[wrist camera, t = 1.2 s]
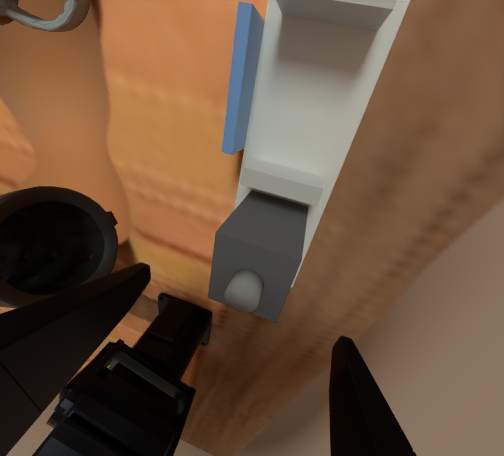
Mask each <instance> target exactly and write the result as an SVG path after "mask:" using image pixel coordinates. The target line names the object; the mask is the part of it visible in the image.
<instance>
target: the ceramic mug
mask: <svg viewBox="0 0 504 456" xmlns="http://www.w3.org/2000/svg"><path fill="white" fill-rule="evenodd" d="M89 5H90V0H68V1H67V2H66V3H65V4H64V12H63V14H60V15H58V16H57V18H56V20H53V21H49V20H43V19H41V18H39V17H36V16H34V15H31V14H29V13H27V12H26V11H24V10H22V9H20V8H19V7H18V0H0V25H4V24H8V23H10V22H12V21H13V20H16V21H17V22H19V23H21V24H23V25H27V26H29V27H32V28H35V29H40V30H44V31H51V32H63V31H69V30H73V29H74V28H76V27H77V26H79V25H80V23H82V22H83V20H84V19H85V18H86V15H87V13H88V10H89Z"/></svg>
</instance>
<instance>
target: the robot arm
mask: <svg viewBox="0 0 504 456" xmlns="http://www.w3.org/2000/svg"><path fill="white" fill-rule="evenodd" d="M150 279H151V273H150V266H149V265H148V264H145V263H138V264H135V265H132V266H130V267H127V268H124V269H122V270H119V271H116V272H114V273H111V274H108V275H106V276H103V277H100V278H98V279H95V280H92V281H90V282H87V283H84V284H82V285H79V286H76V287H74V288H71V289H68V290H66V291H63V292H60V293H58V294H55V295H52V296H50V297H48V298H44V299H41V300H39V301H36V302H33V303H31V304H28V305H25V306H22V307H19V308H17V309H14V310H11V311H8V312H5V313H1V314H0V456H6V455H7V454H8V452H9V451H10V450H11V449H12V448H13V447H14V445H15V444H16V443H17V442H18V441H19V440H20V438H21V437H22V436H23V435H24V434H25V433H26V431H27V430H28V429H29V428H30V426H31V425H32V424H33V423H34V422H35V421H36V419H37V418H38V417H39V416H40V415H41V414H42V412H43V411H44V410H45V409H46V408H47V407H48V405H49V404H50V403H51V402H52V401H53V399H54V398H55V397H56V396H57V395H58V394H59V392H60V391H61V392H60V396H59V404H58V405H57V406H56V408H55V409H54V411H55V412H54V413H53V414H52V416H51V417H50V418H49V420H48V421H47V423H46V424H48V425H50V426H51V427H53V428H54V429H53V430H52V432H51V433H50V434H49V435H48V437H47V438H46V439H45V440H44V442H43V443H42V444H41V445H40V447H39V448H38V449H37V450H36V452H35V453H34V454H33V455H32V456H173V454H174V452H175V449H176V447H177V445H178V442H179V439H180V436H181V433H182V430H183V427H184V424H185V421H186V418H187V415H188V412H189V409H190V406H191V403H192V401H193V398H194V395H195V392H196V389H194V388H193V387H189V386H188V385H186V384H185V383H183V382H182V381H180V380H181V378H182V376H183V374H184V372H185V371H186V369H187V367H188V365H189V363H190V361H191V359H192V357H193V355H194V353H195V351H196V349H197V347H198V345H202V346H207V344H208V341H209V334H210V326H211V319H212V313H211V312H210V311H209V310H207V309H204V308H201V307H199V306H196V305H194V304H191V303H188V302H186V301H183V300H180V299H178V298H175V297H173V296H170V295H167V294H165V293H160V294H159V296H158V308H159V314H158V316H157V317H156V318H155V319H154V321H153V322H152V323H151V324H150V326H149V327H148V328H147V329H146V331H145V332H144V333H143V335H142V336H141V337H140V338H139V340H138V341H137V342H136V343H135V345H134V346H133V347H132V348H131V347H129V346H128V345H126V344H125V343H124V341H122V340H121V339H119V340H118V341H117V342H116V343H113V342H109V343H108V344H107V345H106V346H105V347H104V348H103V349H102V350H101V352H100V353H99V354H98V355H97V356H96V357H95V358H94V359H93V360H92V361H91V362H90V363H89V364H88V365H87V366H86V367H85V368H84V369H83V370H82V371H81V372H79V373H78V374H77V375H76V376H75V377H74V378H73V379H72V380H71V378H72V377H73V376H74V375H75V374H76V372H77V371H78V370H79V369H80V368H81V367H82V365H83V364H84V363H85V362H86V361H87V360H88V358H89V357H90V356H91V355H92V354H93V353H94V351H95V350H96V349H97V348H98V347H99V346H100V344H101V343H102V342H103V341H104V340H105V338H106V337H107V336H108V335H109V334H110V333H111V331H112V330H113V329H114V328H115V327H116V326H117V324H118V323H119V322H120V321H121V320H122V319H123V317H124V316H125V315H126V314H127V313H128V311H129V310H130V309H131V307H132V306H133V305H134V303H135V302H136V300H137V299H138V298H139V296H140V295H141V293H142V292H143V290H144V289H145V287H146V286H147V285H148V283H149V282H150ZM108 365H110V366H112V367H113V369H112V370H109V369H108V368H107V367H108ZM70 380H71V381H70ZM69 381H70V382H69ZM68 382H69V383H68ZM67 383H68V384H67ZM66 384H67V385H66ZM65 385H66V386H65ZM329 409H330V445H331V456H416V454H415V452H413V449H412V447H411V445H410V443H409V441H408V440H407V438H406V436H405V434H404V432H403V430H402V429H401V427H400V425H399V423H398V421H397V420H396V418H395V416H394V414H393V413H392V411H391V409H390V407H389V405H388V403H387V401H386V400H385V398H384V396H383V394H382V392H381V391H380V389H379V387H378V385H377V384H376V382H375V380H374V378H373V376H372V375H371V373H370V371H369V369H368V367H367V365H366V363H365V362H364V360H363V358H362V356H361V354H360V353H359V351H358V349H357V347H356V346H355V344H354V342H353V340H352V339H350V338H348V337H345V336H340V337H339V339H338V340H337V342H336V343H335V345H334V346H333V349H332V359H331V372H330V385H329Z"/></svg>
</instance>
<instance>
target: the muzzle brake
mask: <svg viewBox="0 0 504 456" xmlns="http://www.w3.org/2000/svg"><path fill="white" fill-rule="evenodd" d="M117 223H118V222H117V221H116V219H115V217H114V215H113V213H112V212H111V211H110V212H106V211H105V210H104V209H103V208H102V207H101V206H100V205H99V204H98V203H96V202H95V201H93V200H92V199H91V198H89V197H87V196H85V195H83V194H81V193H79V192H76V191H73V190H70V189H67V188H60V187H53V186H52V187H51V186H47V187H46V186H45V187H44V186H38V187H33V188H28V189H23V190H19V191H14V192H10V193H7V194H2V195H0V307H9V308H19V307H22V306H25V305H28V304H31V303H33V302H36V301H39V300H41V299H44V298H48V297H50V296H52V295H55V294H58V293H60V292H63V291H66V290H68V289H71V288H74V287H76V286H79V285H82V284H84V283H87V282H90V281H92V280H95V279H98V278H100V277H103V276H106V275H108V274H110V273H111V271H112V269H113V267H114V265H115V262H116V259H117V253H118V238H117V233H116V229H115V227H114V226H115V225H116V224H117ZM91 253H92V258H91V259H89V257H90V255H91Z"/></svg>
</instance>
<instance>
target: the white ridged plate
mask: <svg viewBox="0 0 504 456" xmlns="http://www.w3.org/2000/svg"><path fill="white" fill-rule="evenodd" d="M409 2H410V0H268V5H267V11H266V17H265V22H264V20H263V19H262V17H261V16H260V14H259V13H258V11H257V10H256V8H255V7H254V5H253V4H250V3H244V2H238V11H237V20H236V29H235V38H234V47H233V56H232V65H231V74H230V84H229V93H228V102H227V111H226V120H225V129H224V138H223V147H222V152H224V153H227V154H231V155H233V154H235V153H237V152H238V151H240V150H242V149H244V153H243V159H242V165H241V172H240V178H239V184H238V190H237V196H236V202H235V209H236V208H237V207H238V206H239V204H240V203H241V202H242V201H243V200H244V198H245V197H246V196H247V195H248V194H249V193H250V191H251V190H254V191H257V192H260V193H264V194H267V195H271V196H274V197H278V198H281V199H285V200H288V201H292V202H295V203H299V204H302V205H305V206H309V208H308V216H307V224H306V231H305V239H304V247H303V254H302V261H301V263H300V266H299V268H298V271H297V273H296V276H295V278H294V281H293V283H292V286H291V287H293V284H294V282H295V279H296V277H297V274H298V272H299V270H300V267H301V265H302V262H303V260H304V257H305V255H306V253H307V250H308V248H309V245H310V243H311V240H312V238H313V236H314V233H315V231H316V228H317V226H318V223H319V221H320V218H321V216H322V214H323V211H324V209H325V206H326V204H327V201H328V199H329V197H330V194H331V192H332V189H333V187H334V184H335V182H336V180H337V177H338V175H339V172H340V170H341V167H342V165H343V163H344V160H345V158H346V155H347V153H348V150H349V148H350V146H351V143H352V141H353V138H354V136H355V133H356V131H357V128H358V126H359V124H360V121H361V119H362V116H363V114H364V111H365V109H366V107H367V104H368V102H369V99H370V97H371V94H372V92H373V90H374V87H375V85H376V82H377V80H378V77H379V75H380V73H381V70H382V68H383V65H384V63H385V60H386V58H387V56H388V53H389V51H390V48H391V46H392V43H393V41H394V38H395V36H396V34H397V31H398V29H399V26H400V24H401V21H402V19H403V17H404V14H405V12H406V9H407V7H408V4H409ZM235 209H234V210H235Z"/></svg>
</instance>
